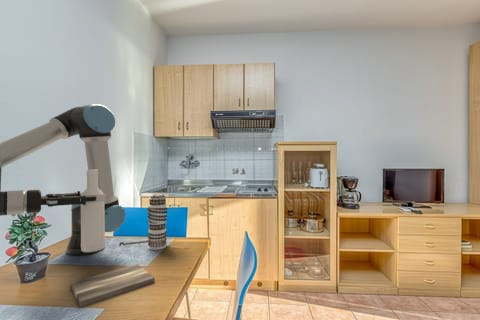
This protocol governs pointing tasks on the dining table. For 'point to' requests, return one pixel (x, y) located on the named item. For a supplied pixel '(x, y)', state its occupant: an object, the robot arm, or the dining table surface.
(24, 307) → the dining table surface
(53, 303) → the dining table surface
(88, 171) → the bottle
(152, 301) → the dining table surface
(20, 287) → the dining table surface
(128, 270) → the subfloor panel
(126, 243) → the wooden handled claw tool
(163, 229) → the decorative candle
